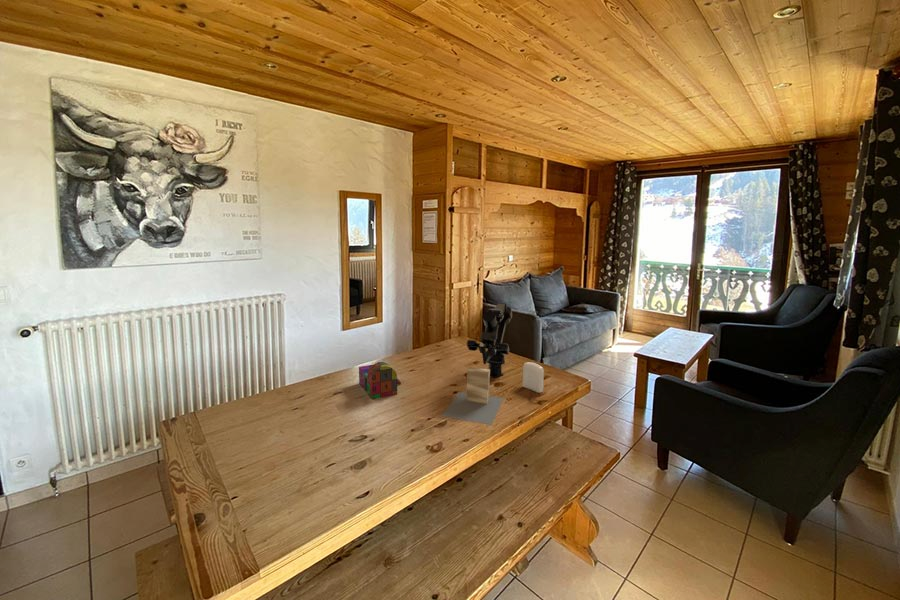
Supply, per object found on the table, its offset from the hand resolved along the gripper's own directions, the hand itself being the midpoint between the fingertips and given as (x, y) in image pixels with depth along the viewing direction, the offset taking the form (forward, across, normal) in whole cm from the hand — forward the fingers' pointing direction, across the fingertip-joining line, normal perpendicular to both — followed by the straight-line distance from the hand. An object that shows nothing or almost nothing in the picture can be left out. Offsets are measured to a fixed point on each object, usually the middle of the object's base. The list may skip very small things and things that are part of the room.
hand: (484, 363), depth 179 cm
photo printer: (+2, +20, +18) cm, 27 cm away
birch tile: (+16, 0, +2) cm, 17 cm away
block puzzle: (+16, -47, +4) cm, 49 cm away
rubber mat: (+21, 0, -2) cm, 21 cm away
